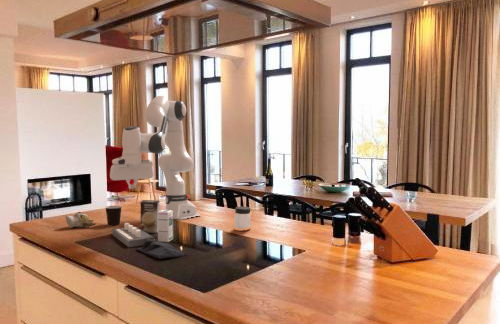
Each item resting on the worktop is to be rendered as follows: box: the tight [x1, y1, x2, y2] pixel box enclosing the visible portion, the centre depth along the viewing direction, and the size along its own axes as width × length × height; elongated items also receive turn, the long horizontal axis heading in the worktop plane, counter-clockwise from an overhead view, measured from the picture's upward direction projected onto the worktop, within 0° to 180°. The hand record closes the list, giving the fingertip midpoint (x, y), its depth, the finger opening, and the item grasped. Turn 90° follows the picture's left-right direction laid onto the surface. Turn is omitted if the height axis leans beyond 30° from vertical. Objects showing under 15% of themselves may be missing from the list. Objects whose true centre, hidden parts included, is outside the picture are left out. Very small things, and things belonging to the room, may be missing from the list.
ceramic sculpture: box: [65, 211, 97, 229], centre depth 225 cm, size 11×9×15 cm
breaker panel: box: [111, 225, 155, 248], centre depth 202 cm, size 12×26×3 cm, turn 34°
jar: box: [233, 206, 252, 229], centre depth 225 cm, size 9×8×12 cm
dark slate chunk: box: [136, 239, 186, 260], centre depth 181 cm, size 15×22×5 cm
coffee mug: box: [105, 205, 123, 227], centre depth 234 cm, size 12×9×10 cm
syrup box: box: [157, 209, 174, 243], centre depth 201 cm, size 6×6×14 cm
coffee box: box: [139, 199, 161, 234], centre depth 218 cm, size 9×6×16 cm
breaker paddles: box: [123, 222, 141, 238], centre depth 202 cm, size 2×20×3 cm, turn 34°
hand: (132, 188), depth 200 cm, fingers closed
